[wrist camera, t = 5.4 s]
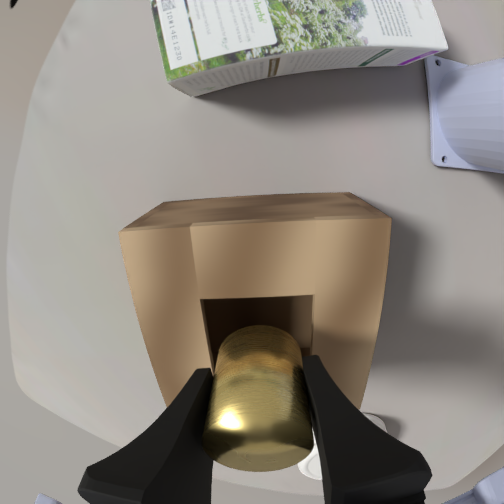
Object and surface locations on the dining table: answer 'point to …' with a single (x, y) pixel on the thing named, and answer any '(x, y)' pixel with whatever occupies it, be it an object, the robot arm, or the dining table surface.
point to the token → (258, 402)
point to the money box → (259, 280)
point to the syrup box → (287, 38)
